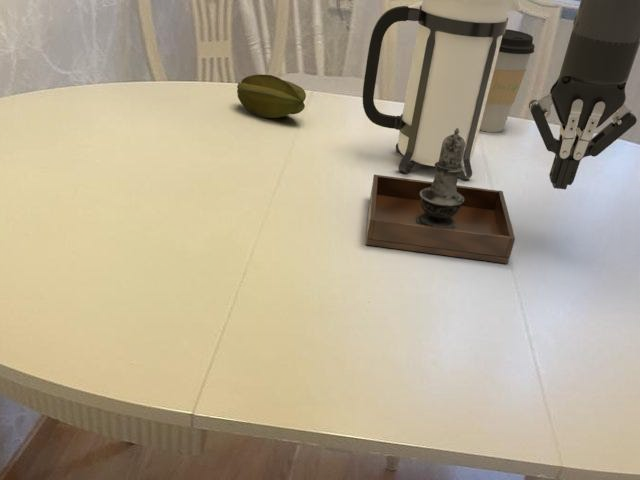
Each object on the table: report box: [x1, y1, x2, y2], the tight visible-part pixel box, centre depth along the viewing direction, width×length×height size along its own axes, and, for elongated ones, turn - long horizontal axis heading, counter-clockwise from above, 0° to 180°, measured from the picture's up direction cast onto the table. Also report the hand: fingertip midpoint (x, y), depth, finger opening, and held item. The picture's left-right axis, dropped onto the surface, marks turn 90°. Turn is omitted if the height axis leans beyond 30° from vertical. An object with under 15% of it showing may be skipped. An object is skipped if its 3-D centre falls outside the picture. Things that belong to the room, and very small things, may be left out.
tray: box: [365, 174, 516, 264], centre depth 100 cm, size 18×16×3 cm
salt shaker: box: [416, 128, 465, 229], centre depth 97 cm, size 6×6×12 cm
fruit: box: [236, 73, 307, 119], centre depth 130 cm, size 11×12×7 cm
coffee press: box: [362, 0, 522, 181], centre depth 110 cm, size 17×16×30 cm
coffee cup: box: [479, 28, 536, 133], centre depth 133 cm, size 9×9×15 cm
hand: (558, 186), depth 96 cm, fingers closed
